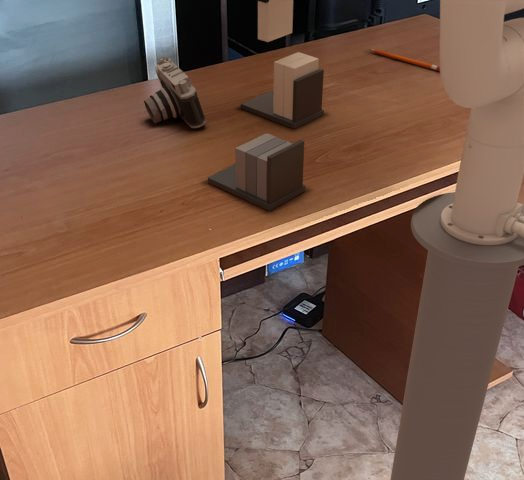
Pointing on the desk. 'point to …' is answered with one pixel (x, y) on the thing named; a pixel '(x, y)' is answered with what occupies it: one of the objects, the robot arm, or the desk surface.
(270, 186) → the grey rack
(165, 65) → the camera
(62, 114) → the desk surface
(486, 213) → the robot arm
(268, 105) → the dark bookend stand
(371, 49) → the pencil
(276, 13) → the white book
